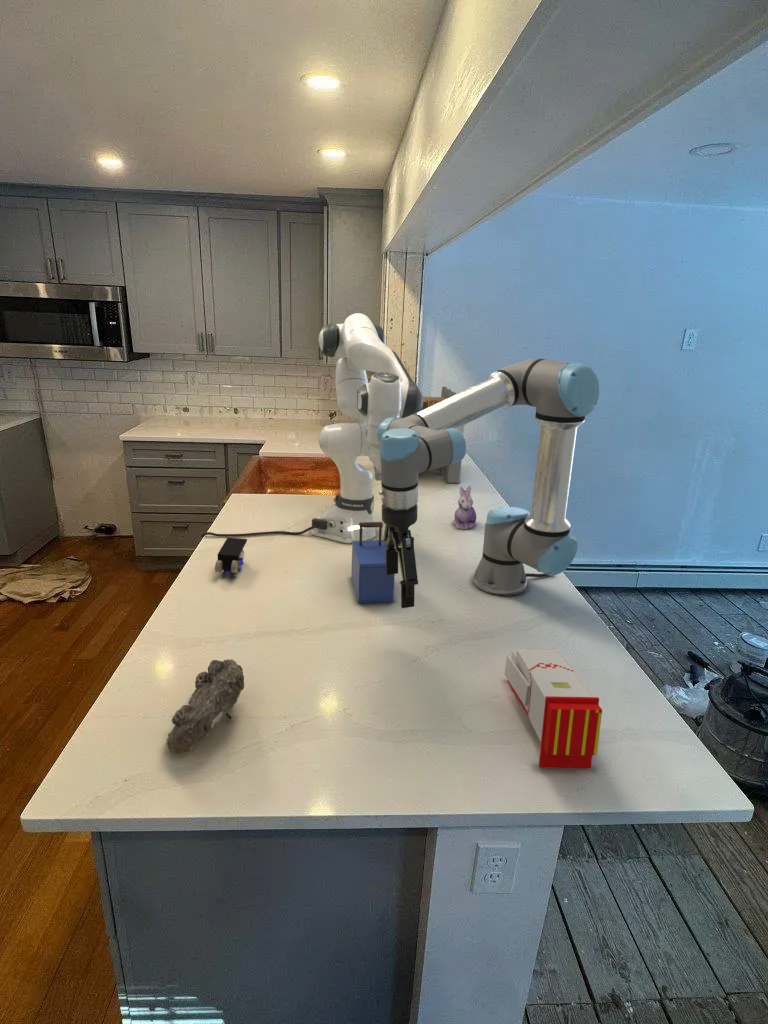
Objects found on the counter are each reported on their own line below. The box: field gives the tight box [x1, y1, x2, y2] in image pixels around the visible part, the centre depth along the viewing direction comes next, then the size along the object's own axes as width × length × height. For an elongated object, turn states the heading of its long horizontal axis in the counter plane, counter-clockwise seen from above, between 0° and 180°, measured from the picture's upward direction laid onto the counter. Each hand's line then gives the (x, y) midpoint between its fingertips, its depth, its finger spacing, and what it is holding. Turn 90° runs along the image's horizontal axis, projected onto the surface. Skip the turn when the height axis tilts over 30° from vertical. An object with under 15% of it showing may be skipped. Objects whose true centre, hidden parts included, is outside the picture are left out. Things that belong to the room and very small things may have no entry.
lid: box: [351, 521, 387, 567], centre depth 155 cm, size 16×10×8 cm, turn 10°
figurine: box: [453, 485, 477, 530], centre depth 208 cm, size 9×10×15 cm
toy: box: [504, 648, 603, 769], centre depth 111 cm, size 12×13×30 cm
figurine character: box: [214, 537, 248, 578], centre depth 166 cm, size 7×8×15 cm
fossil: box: [166, 658, 245, 754], centre depth 106 cm, size 22×10×15 cm
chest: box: [350, 545, 396, 604], centre depth 158 cm, size 15×10×11 cm, turn 10°
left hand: (381, 484), depth 157 cm, fingers open, 8 cm apart
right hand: (399, 589), depth 127 cm, fingers open, 13 cm apart
